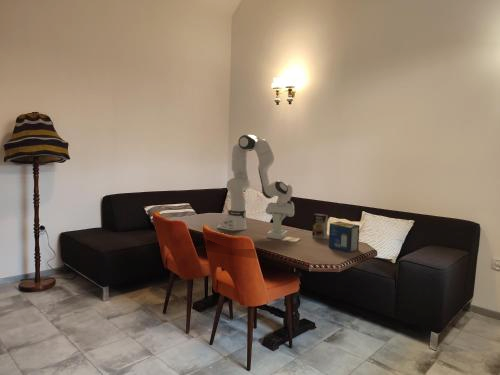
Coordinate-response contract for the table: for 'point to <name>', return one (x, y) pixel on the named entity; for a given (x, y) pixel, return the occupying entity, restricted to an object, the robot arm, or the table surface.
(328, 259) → the table surface
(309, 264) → the table surface
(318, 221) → the coffee box
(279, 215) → the green block
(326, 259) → the table surface
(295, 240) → the pad
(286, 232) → the bin
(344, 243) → the protein box
